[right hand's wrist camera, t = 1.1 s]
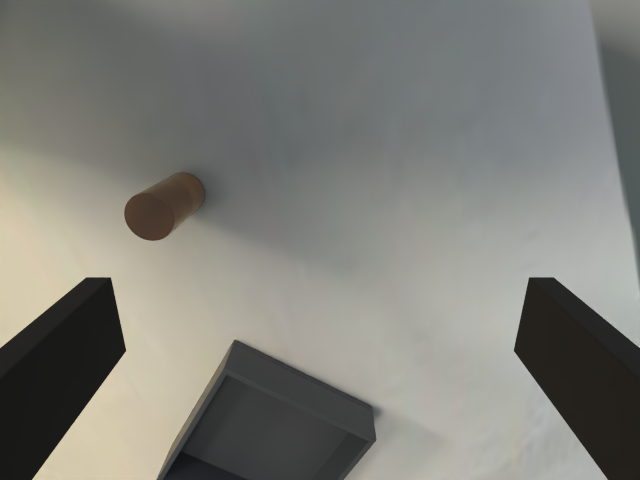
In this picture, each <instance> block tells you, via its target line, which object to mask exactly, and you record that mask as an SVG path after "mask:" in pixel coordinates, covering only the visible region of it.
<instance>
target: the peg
mask: <svg viewBox="0 0 640 480" xmlns="http://www.w3.org/2000/svg"><path fill="white" fill-rule="evenodd" d="M204 199H205V190H204V187H203V185H202V183H201V182H200V181H199V180H198V179H197V178H196V177H195V176H193V175H191V174H188V173H177V174H175V175H173V176H171V177H169V178H167V179H165V180H163V181H161V182H160V183H158V184H156V185H154V186H152V187H150V188H148V189H146V190H144V191H143V192H141V193H139V194H137V195H135V196H133V197H132V198H131V199H130V200H129V201H128V202H127V204H126V207H125V220H126V223H127V225H128V227H129V228H130V229H131V231H132V232H133V233H134V234H136V235H137V236H139V237H140V238H143V239H146V240H152V241H154V240H160V239H163V238H165V237H166V236H168V235H169V234H170V233H171V232H172V231H173V230H174V229H176V228H177V227H178V226H179V225H180V224H181V223H182V222H183V221H185V220H186V219H187V218H188V217H189V216H190V215H191V214H192V213H194V212H195V211H196V210H197V209H198V208H199V207H200V206H201V205H202V204H203V202H204Z"/></svg>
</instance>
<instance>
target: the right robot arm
mask: <svg viewBox="0 0 640 480" xmlns="http://www.w3.org/2000/svg"><path fill="white" fill-rule="evenodd" d="M125 352H126V348H125V343H124V338H123V333H122V329H121V324H120V319H119V314H118V309H117V305H116V300H115V295H114V290H113V286H112V281H111V278H85V279H84V280H83V281H82V282H80V283H79V284H78V285H77V286H75V287H74V288H73V289H72V290H71V291H69V292H68V293H67V294H66V295H65V296H63V297H62V298H61V299H60V300H58V301H57V302H56V303H55V304H54V305H52V306H51V307H50V308H49V309H47V310H46V311H45V312H44V313H43V314H41V315H40V316H39V317H38V318H37V319H35V320H34V321H33V322H32V323H30V324H29V325H28V326H27V327H26V328H24V329H23V330H22V331H21V332H19V333H18V334H17V335H16V336H15V337H13V338H12V339H11V340H10V341H9V342H7V343H6V344H5V345H4V346H2V347H1V348H0V480H32V479H33V477H34V476H35V475H36V473H37V472H38V471H39V469H40V468H41V467H42V465H43V464H44V462H45V461H46V460H47V458H48V457H49V456H50V454H51V453H52V451H53V450H54V449H55V447H56V446H57V445H58V443H59V442H60V441H61V439H62V438H63V436H64V435H65V434H66V432H67V431H68V430H69V428H70V427H71V426H72V424H73V423H74V421H75V420H76V419H77V417H78V416H79V415H80V413H81V412H82V410H83V409H84V408H85V406H86V405H87V404H88V402H89V401H90V400H91V398H92V397H93V395H94V394H95V393H96V391H97V390H98V389H99V387H100V386H101V384H102V383H103V382H104V380H105V379H106V378H107V376H108V375H109V374H110V372H111V371H112V369H113V368H114V367H115V365H116V364H117V363H118V361H119V360H120V358H121V357H122V356H123V354H124V353H125ZM514 352H515V353H516V354H517V356H518V357H519V358H520V360H521V361H522V363H523V364H524V365H525V367H526V368H527V369H528V371H529V372H530V374H531V375H532V376H533V378H534V379H535V380H536V382H537V383H538V384H539V386H540V387H541V389H542V390H543V391H544V393H545V394H546V395H547V397H548V398H549V400H550V401H551V402H552V404H553V405H554V406H555V408H556V409H557V410H558V412H559V413H560V415H561V416H562V417H563V419H564V420H565V421H566V423H567V424H568V426H569V427H570V428H571V430H572V431H573V432H574V434H575V435H576V436H577V438H578V439H579V441H580V442H581V443H582V445H583V446H584V447H585V449H586V450H587V451H588V453H589V454H590V456H591V457H592V458H593V460H594V461H595V462H596V464H597V465H598V467H599V468H600V469H601V471H602V472H603V473H604V475H605V476H606V477H607V479H608V480H640V348H639V347H638V346H636V345H635V344H634V343H633V342H631V341H630V340H629V339H628V338H627V337H625V336H624V335H623V334H622V333H621V332H619V331H618V330H617V329H616V328H614V327H613V326H612V325H611V324H610V323H608V322H607V321H606V320H605V319H603V318H602V317H601V316H600V315H599V314H597V313H596V312H595V311H594V310H593V309H591V308H590V307H589V306H588V305H586V304H585V303H584V302H583V301H582V300H580V299H579V298H578V297H577V296H575V295H574V294H573V293H572V292H571V291H569V290H568V289H567V288H566V287H565V286H563V285H562V284H561V283H560V282H558V281H557V280H556V279H555V278H529V281H528V286H527V290H526V295H525V300H524V305H523V309H522V314H521V319H520V324H519V329H518V333H517V338H516V343H515V348H514Z"/></svg>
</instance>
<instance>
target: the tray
mask: <svg viewBox="0 0 640 480" xmlns="http://www.w3.org/2000/svg"><path fill="white" fill-rule="evenodd" d="M375 441H376V434H375V427H374V420H373V413H372V407H371V406H370V405H368V404H366V403H363V402H361V401H359V400H357V399H355V398H353V397H351V396H349V395H347V394H345V393H343V392H341V391H339V390H337V389H335V388H333V387H330V386H328V385H326V384H324V383H322V382H320V381H318V380H316V379H314V378H312V377H310V376H308V375H306V374H304V373H302V372H300V371H298V370H295V369H293V368H291V367H289V366H287V365H285V364H283V363H281V362H279V361H277V360H275V359H273V358H271V357H269V356H267V355H265V354H263V353H260V352H258V351H256V350H254V349H252V348H250V347H248V346H246V345H244V344H242V343H240V342H238V341H236V340H234V341H233V343H232V345H231V347H230V348H229V350H228V352H227V353H226V355H225V357H224V358H223V360H222V362H221V363H220V365H219V367H218V368H217V370H216V372H215V373H214V375H213V377H212V378H211V380H210V382H209V384H208V385H207V387H206V389H205V390H204V392H203V394H202V395H201V397H200V399H199V400H198V402H197V404H196V405H195V407H194V409H193V410H192V412H191V414H190V415H189V417H188V419H187V421H186V422H185V424H184V426H183V427H182V429H181V431H180V432H179V434H178V436H177V437H176V439H175V441H174V442H173V444H172V446H171V448H170V450H169V453H168V455H167V457H166V459H165V462H164V464H163V466H162V468H161V471H160V473H159V475H158V477H157V480H344V478H345V477H346V476H347V475H348V474H349V472H350V471H351V470H352V469H353V468H354V466H355V465H356V464H357V463H358V462H359V460H360V459H361V458H362V457H363V456H364V454H365V453H366V452H367V451H368V450H369V448H370V447H371V446H372V445H373V443H374V442H375Z"/></svg>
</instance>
